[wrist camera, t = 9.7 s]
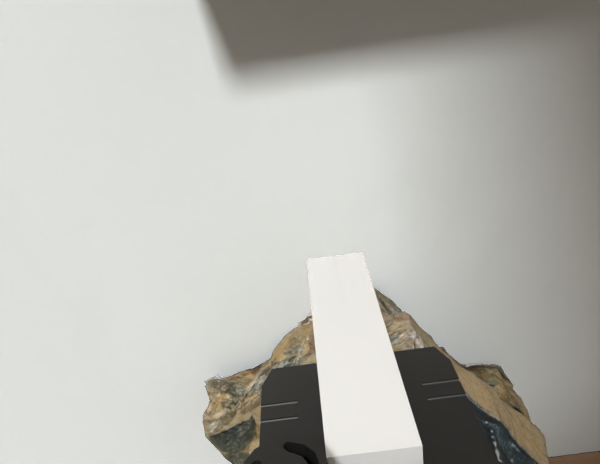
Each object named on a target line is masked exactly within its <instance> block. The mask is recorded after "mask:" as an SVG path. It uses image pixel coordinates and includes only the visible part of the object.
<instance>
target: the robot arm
mask: <svg viewBox="0 0 600 464" xmlns="http://www.w3.org/2000/svg"><path fill="white" fill-rule="evenodd" d="M306 260H307V270H308V280H309V290H310V300H311V310H312V320H313V330H314V340H315V350H316V360H317V363H313V364H305V365H297V366H289V367H281V368H274V369H272V370H271V371H270V373H269V375H268V376H267V378H266V380H265V381H264V383H263V385H262V391H261V416H260V421H261V424H260V440H259V447H257V448H256V449H254V450H253V452H252V453H251V454H250V455H249V456H248V458H247V459H246V460H245V461H244V464H503V463H501V462H500V461H498V460H497V458H496V457H495V455H494V454H493V452H492V450H491V448H490V446H489V443H488V441H487V439H486V437H485V435H484V432H483V430H482V428H481V426H480V424H479V421H478V419H477V417H476V415H475V413H474V410H473V408H472V406H471V404H470V402H469V399H468V397H467V396H466V394H465V391H464V388H463V386H462V384H461V382H459V377H458V375H457V373H456V371H455V369H454V366H453V364H452V362H451V360H450V359H449V358H447V357H446V356H445V355H444V354H443V353H441V352H440V351H439V350H438V349H437V348H436V347H434V346H433V347H425V348H417V349H410V350H402V351H394V352H393V349H392V346H391V343H390V339H389V336H388V333H387V330H386V326H385V323H384V320H383V317H382V314H381V310H380V307H379V304H378V301H377V297H376V294H375V291H374V288H373V285H372V281H371V278H370V275H369V272H368V268H367V265H366V262H365V259H364V256H363V252H357V253H349V254H342V255H334V256H327V257H319V258H311V259H306Z"/></svg>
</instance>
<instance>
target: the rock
mask: <svg viewBox="0 0 600 464" xmlns="http://www.w3.org/2000/svg"><path fill="white" fill-rule="evenodd" d="M374 291H375V294H376V297H377V301H378V304H379V307H380V310H381V314H382V317H383V320H384V323H385V326H386V330H387V333H388V336H389V339H390V343H391V346H392V349H393V352H394V351H402V350H410V349H417V348H425V347H433V346H434V347H436V348H437V349H438V350H439V351H440V352H441V353H443V354H444V355H445V356H446V357H447V358H449V359H450V360H451V362H452V364H453V366H454V369H455V371H456V373H457V375H458V377H459V382H461V384H462V386H463V388H464V391H465V394H466V396H467V397H468V399H469V402H470V404H471V406H472V408H473V410H474V413H475V415H476V417H477V419H478V421H479V424H480V426H481V428H482V430H483V432H484V435H485V437H486V439H487V441H488V443H489V446H490V448H491V450H492V452H493V454H494V455H495V457H496V458H497V460H498V461H500V462H501V463H503V464H549V461H548V456H547V451H546V442H545V437H544V435H543V434H542V433H541V431H540V430H539V429H538V428H537V427H536V426H535V425H534V424H533V423H532V422H531V421H530V417H529V414H528V412H527V409H526V407H525V406H524V404H523V402H522V400H521V398H520V397H519V396H518V395H517V394H516V393H515V391H514V390H513V384H512V383H511V382H510V380H509V379H508V378H507V376H506V375H505V373H504V371H503V369H502V368H501V366H498V365H495V364H492V365H487V364H483V363H478V364H469V365H462V364H460V363H458V362H457V361H456V360H455V359H453V358H452V357H451V356H450V355H449V354H448V353H447V352H446V351H445V349H444V348H443V347H438V346H437V344H436V343H435V342H434V341H433V339H432V337H431V336H430V335H428V334H427V333H426V332H425V331H423V330H422V329H421V328H420V327H419V326H418V324H417V323H416V322H415V321H414V319H413V318H412V317H411V316H410V315H409V314H407V313H406V312H402V311H401V309H400V308H398V307H397V306H396V305H395V303H394V302H393V301H392V300H390V299H389V298H387V297H386V296H384V295H383V294H382V293H380V292H379V291H378V290H376V289H375V288H374ZM304 323H305V324H304ZM313 363H317V360H316V350H315V340H314V330H313V320H312V312H311V313H310V314H309V315H308V316H307V318H306V319H305V320H304V321H302V322H300V323H299V325H298V327H296V328H295V329H293V330H292V331H291V332H289V333H288V334H287V335H286V336H285V337H284V338H283V339H282V340H281V342H280V343H279V344H278V345H277V347H276V348H275V349H274V351H273V353H272V357H271V358H270V359H269V360H267V361H266V362H264V363H262V364H260V365H259V366H257V367H255V368H253V369H248V370H245V371H242V372H239V373H237V374H235V375H233V376H230V377H227V378H224V379H222V378H221V377H220V376H219V375H216V376H215V377H211V378H209V379H207V380H205V383H206V389H207V393H208V396H209V399H210V402H209V405H208V408H207V409H206V411H205V412H204V414H203V425H204V430H205V436H206V438H207V439H208V440H209V441H210V442H211V443H212V444H213V445H214V446H215V447H216V448H217V449H218V450H219V451H220V452H221V454H222V455H223V456H224V457H225V458H226V459H227V460H228V461H230V462H231V463H232V464H244V461H245V460H246V459H247V458H248V456H249V455H250V454H251V453H252V452H253V450H254V449H256V448H257V447H259V440H260V424H261V421H260V416H261V391H262V385H263V383H264V381H265V380H266V378H267V376H268V375H269V373H270V371H271V370H272V369H274V368H281V367H289V366H297V365H305V364H313Z"/></svg>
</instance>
